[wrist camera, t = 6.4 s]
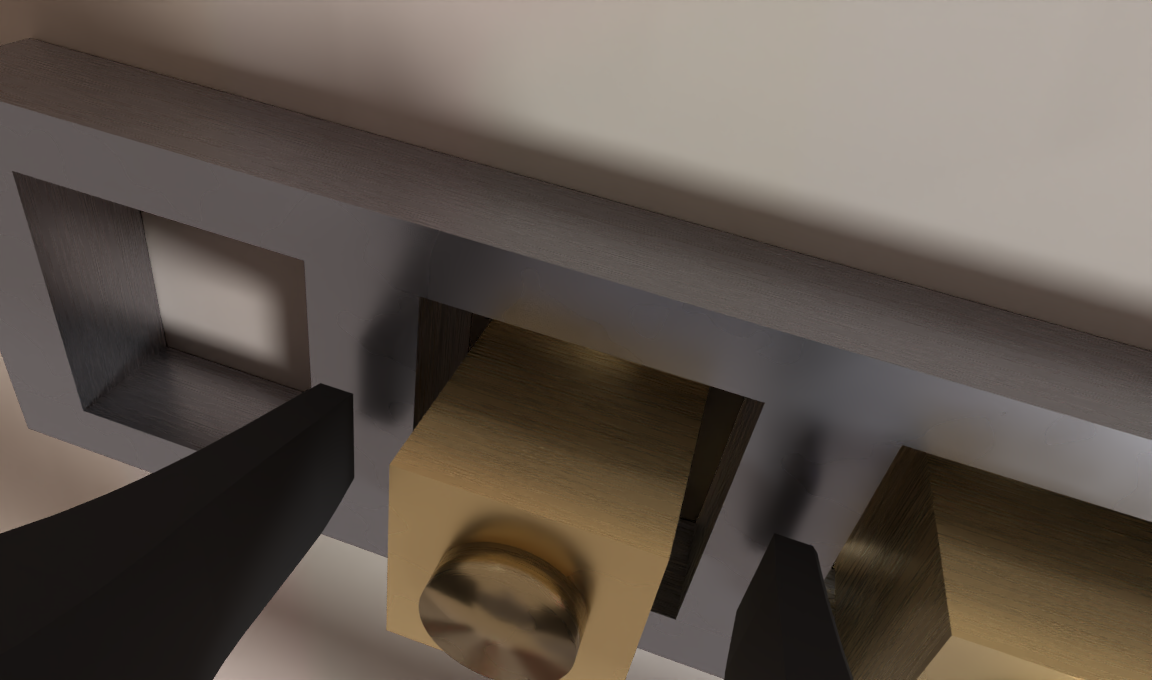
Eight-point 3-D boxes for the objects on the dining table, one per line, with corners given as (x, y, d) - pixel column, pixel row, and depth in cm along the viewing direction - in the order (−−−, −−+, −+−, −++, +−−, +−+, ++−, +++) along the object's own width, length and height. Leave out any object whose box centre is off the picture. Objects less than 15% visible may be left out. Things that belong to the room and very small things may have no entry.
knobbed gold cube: (717, 350, 14) (661, 596, 9) (667, 496, 16) (603, 749, 12) (513, 289, 14) (367, 495, 10) (493, 439, 17) (369, 660, 12)
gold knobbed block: (1158, 465, 13) (1331, 808, 8) (1035, 605, 15) (1118, 932, 11) (917, 393, 13) (958, 678, 9) (835, 540, 16) (833, 824, 11)
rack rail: (1422, 427, 11) (1550, 557, 9) (1110, 705, 16) (1148, 832, 14) (30, 38, 14) (-101, 71, 12) (113, 365, 19) (27, 428, 17)
